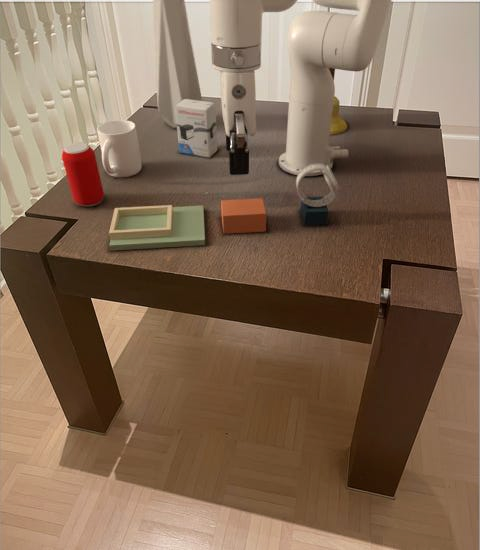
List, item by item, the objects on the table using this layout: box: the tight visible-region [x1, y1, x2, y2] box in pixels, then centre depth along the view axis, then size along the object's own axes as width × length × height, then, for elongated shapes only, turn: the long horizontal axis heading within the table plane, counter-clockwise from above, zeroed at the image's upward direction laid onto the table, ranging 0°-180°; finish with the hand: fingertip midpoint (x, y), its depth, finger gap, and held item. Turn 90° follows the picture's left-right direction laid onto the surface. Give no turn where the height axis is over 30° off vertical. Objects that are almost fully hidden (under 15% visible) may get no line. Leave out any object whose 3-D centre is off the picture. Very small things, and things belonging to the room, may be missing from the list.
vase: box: [152, 0, 203, 129], centre depth 117 cm, size 12×12×33 cm
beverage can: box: [61, 142, 105, 208], centre depth 91 cm, size 6×6×12 cm
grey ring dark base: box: [295, 163, 340, 227], centre depth 86 cm, size 6×8×11 cm
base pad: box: [108, 204, 206, 252], centre depth 86 cm, size 17×12×3 cm
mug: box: [96, 119, 143, 179], centre depth 101 cm, size 12×8×10 cm
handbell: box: [329, 68, 348, 135], centre depth 118 cm, size 12×12×25 cm
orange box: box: [220, 197, 267, 235], centre depth 87 cm, size 8×6×4 cm
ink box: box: [175, 99, 218, 158], centre depth 110 cm, size 8×5×12 cm, turn 68°
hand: (237, 161), depth 80 cm, fingers open, 9 cm apart
